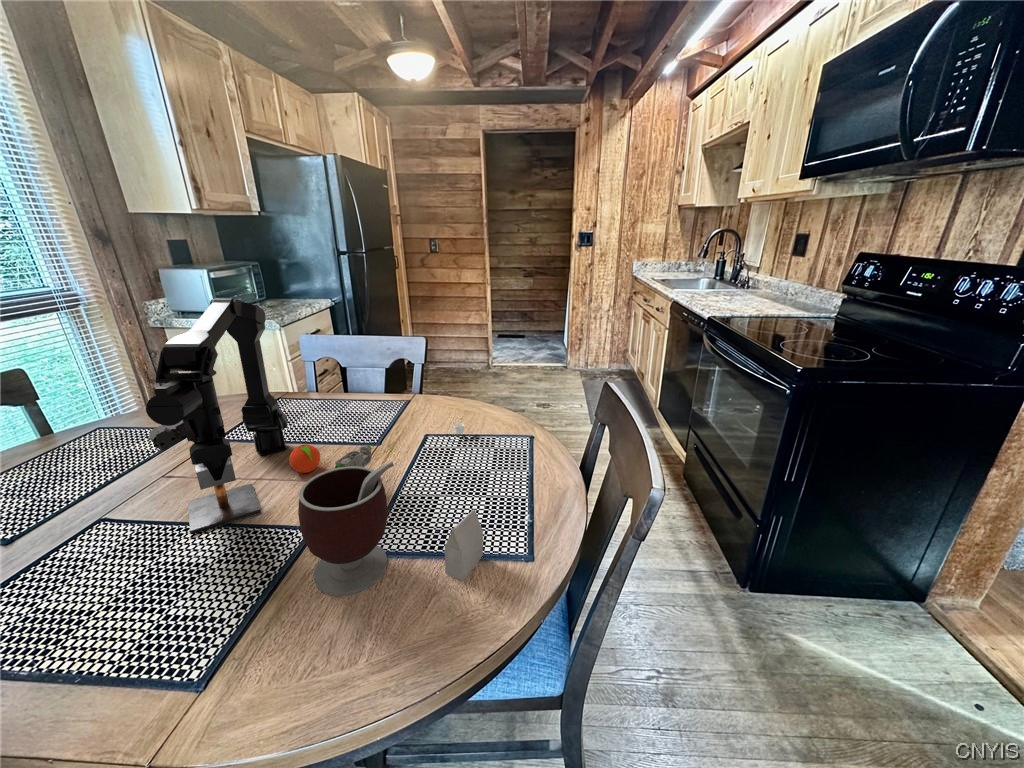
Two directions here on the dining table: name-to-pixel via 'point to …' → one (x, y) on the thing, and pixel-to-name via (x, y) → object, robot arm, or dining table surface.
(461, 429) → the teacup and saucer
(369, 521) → the mate gourd
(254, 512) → the grey socket block
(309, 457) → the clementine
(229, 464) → the grey hollow block
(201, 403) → the robot arm
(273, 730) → the dining table surface
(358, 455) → the grey lumpy piece
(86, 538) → the dining table surface
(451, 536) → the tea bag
